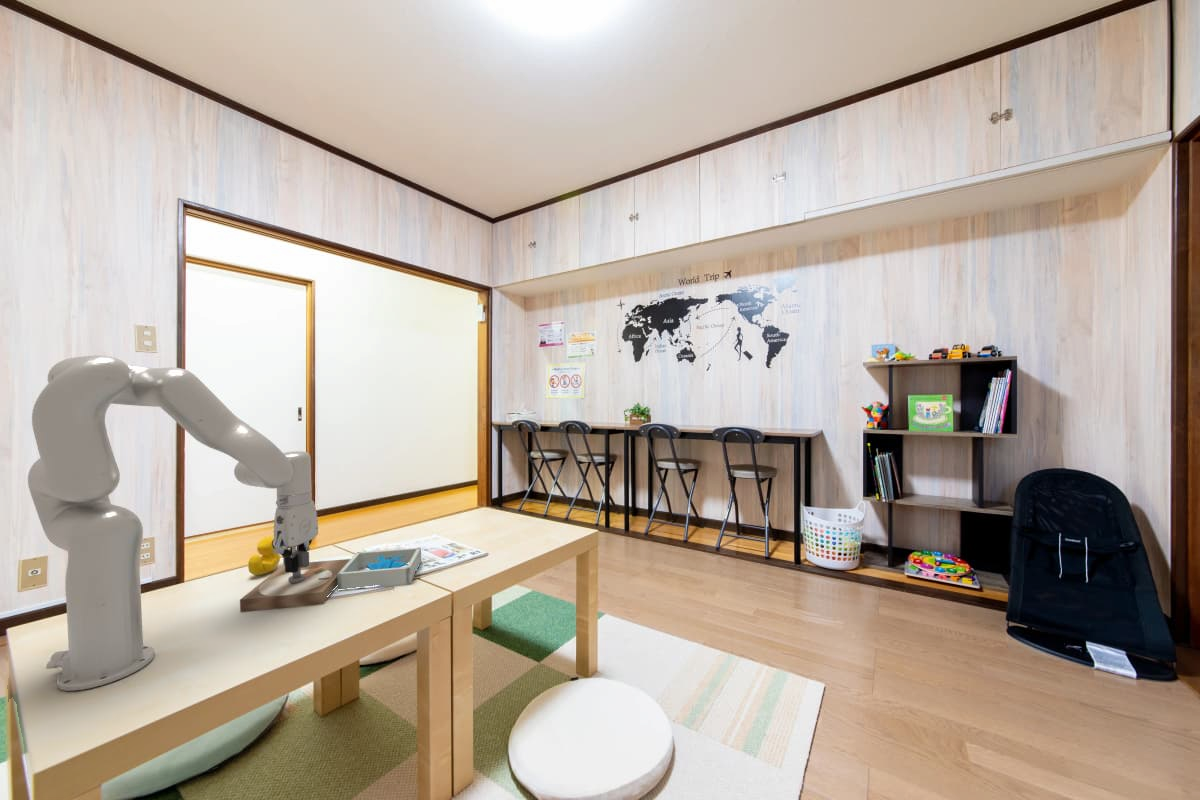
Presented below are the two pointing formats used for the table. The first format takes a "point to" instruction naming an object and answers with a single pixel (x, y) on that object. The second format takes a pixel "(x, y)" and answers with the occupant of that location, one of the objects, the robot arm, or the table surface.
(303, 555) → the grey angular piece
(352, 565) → the toy tray
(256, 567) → the duckling
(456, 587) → the table surface
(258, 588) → the board
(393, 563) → the toy airplane
